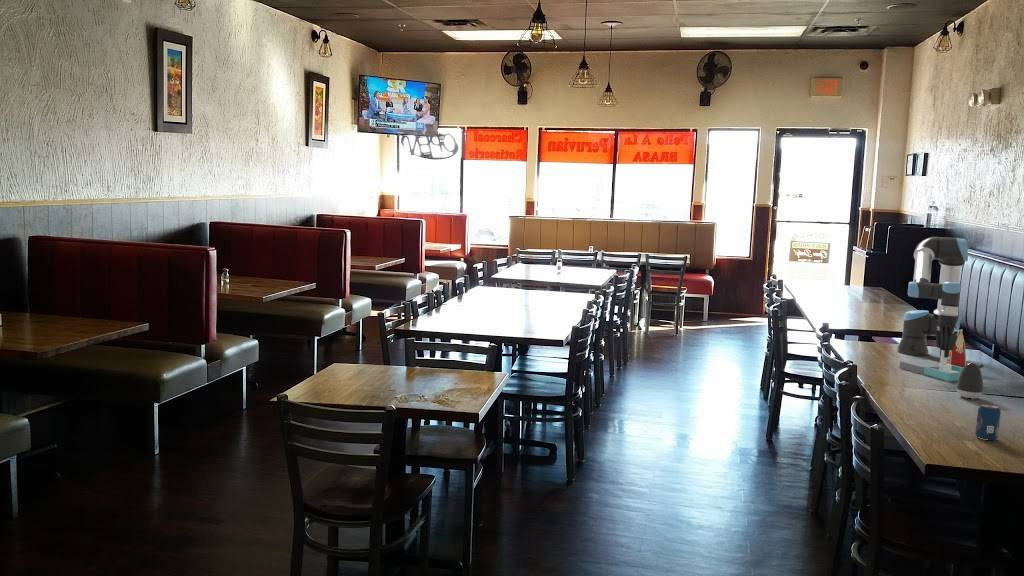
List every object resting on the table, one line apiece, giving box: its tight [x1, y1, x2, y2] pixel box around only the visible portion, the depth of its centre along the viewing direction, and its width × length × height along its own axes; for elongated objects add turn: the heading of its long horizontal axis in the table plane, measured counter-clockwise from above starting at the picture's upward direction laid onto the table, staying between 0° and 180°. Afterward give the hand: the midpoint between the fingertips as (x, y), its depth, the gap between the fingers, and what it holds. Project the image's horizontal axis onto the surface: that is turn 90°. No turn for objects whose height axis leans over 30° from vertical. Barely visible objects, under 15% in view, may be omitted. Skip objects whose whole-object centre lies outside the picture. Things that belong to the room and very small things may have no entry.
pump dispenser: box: [955, 362, 985, 400], centre depth 341 cm, size 10×10×15 cm
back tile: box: [939, 364, 952, 371], centre depth 383 cm, size 5×5×2 cm
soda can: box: [974, 403, 1002, 441], centre depth 283 cm, size 7×7×12 cm
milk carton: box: [947, 329, 967, 368], centre depth 399 cm, size 9×9×20 cm
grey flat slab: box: [899, 359, 940, 375], centre depth 393 cm, size 18×14×4 cm
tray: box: [922, 365, 963, 383], centre depth 380 cm, size 18×14×4 cm
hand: (943, 363), depth 383 cm, fingers closed
